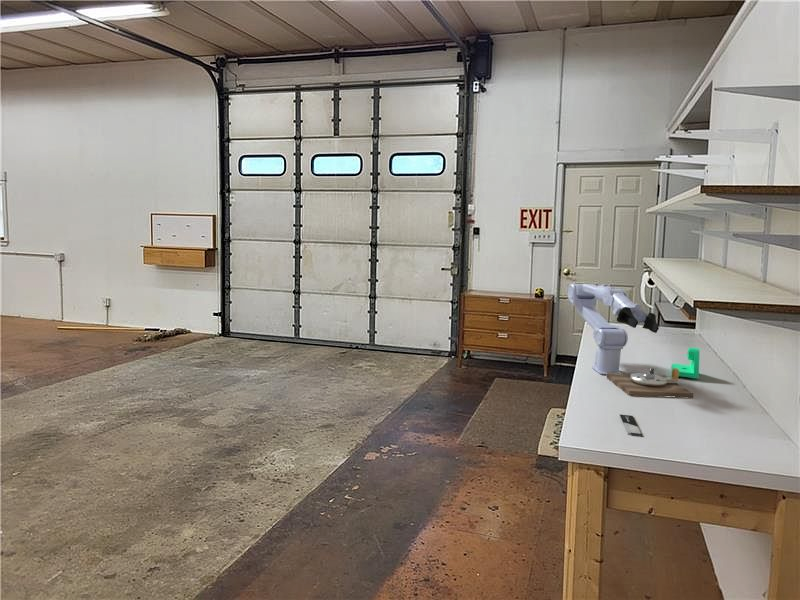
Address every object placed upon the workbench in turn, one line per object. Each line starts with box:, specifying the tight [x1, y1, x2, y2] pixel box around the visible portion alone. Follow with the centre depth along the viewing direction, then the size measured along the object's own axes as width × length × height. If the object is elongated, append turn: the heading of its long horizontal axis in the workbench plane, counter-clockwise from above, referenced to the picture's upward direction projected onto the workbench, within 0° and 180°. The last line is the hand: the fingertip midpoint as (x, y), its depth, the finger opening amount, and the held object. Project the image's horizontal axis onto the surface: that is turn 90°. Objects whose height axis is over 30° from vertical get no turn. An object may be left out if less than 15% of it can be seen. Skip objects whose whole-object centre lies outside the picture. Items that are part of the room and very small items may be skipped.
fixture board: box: [605, 373, 694, 399], centre depth 194 cm, size 20×20×2 cm
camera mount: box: [671, 347, 700, 379], centre depth 210 cm, size 12×8×10 cm, turn 160°
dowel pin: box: [648, 367, 655, 375], centre depth 199 cm, size 1×1×3 cm
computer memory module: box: [619, 414, 645, 438], centre depth 157 cm, size 15×1×4 cm
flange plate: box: [630, 368, 680, 386], centre depth 193 cm, size 15×11×5 cm
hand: (646, 327), depth 187 cm, fingers open, 7 cm apart
